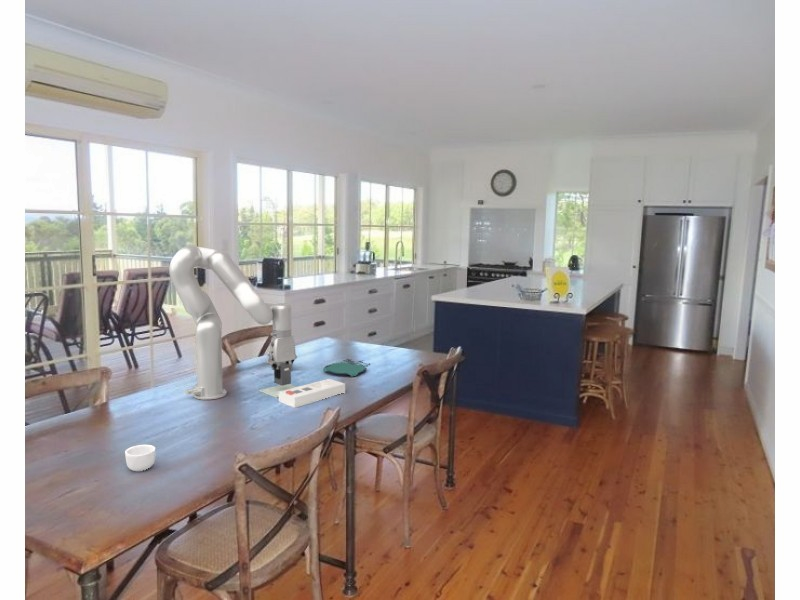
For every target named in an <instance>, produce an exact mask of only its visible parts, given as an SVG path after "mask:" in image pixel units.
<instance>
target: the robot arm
mask: <svg viewBox="0 0 800 600" xmlns="http://www.w3.org/2000/svg"><path fill="white" fill-rule="evenodd" d="M168 268H169V269H168V270H169V271H168V272H169V277H170V280H171V281H172V284H173V286H174V288H175V291H176V292H177V295H178V297H179V299H180V302H181V304H182V307H183V308H184V310H185V312H186V313H187V314H188V315H190V316H191V318H192V319H193V321H194V323H195V325H196V326H195V331H194V333H195V335H194V336H195V337H194V338H195V348H196V349H195V351H196V352H195V355H196V384H194V386H193V387H192V388H188V389H185V391H184V392H185V395H186V396H187V395H191V394H192V396H193V398H195V399H197V400H204V401H205V400H207V401H208V400H216V399H217V400H218V399H221V398H223V397H225V396H226V395H227V389H225V388H223V351H222V350H223V349H222V346H223V345H222V343H223V342H222V336H223V335H222V329H223V323H222V319H221V317H220V315H219V313H218V311H217V310H216V308H215V305H214V303H213V301H212V299H211V297H210V296H209V294H208V293H207V292H206V291H204V290H203V289H202V288H201V286H200V283H199V281H198V280H197V277H196V275H195V273H194V270H195V268H199V269H204V270H205V269H206V270H211V271H212V272H213V273H214V274H215V276H217V278H218V279H219V280H220V281H221V283H222V284H223V285H224V286H225V287H226V289H227V290H228V291H229V292H230V293H231V294H232V296H233V298H234V299H236V300H237V302H238V303H240V305H241V306H242V308H243V309H244V310H245V312H247V314H248V315H249V316H250V317H251V319H253V321H254V322H255V323H257V324H258V325H262V326H265V325H268V324H269V323H271V321H272V332H270V336H271V339H270V344H269V351H270V353H269V358H268V359H267V362H266V363H267V365H270V366H271V368H272V367H273V368H274V370H273V374H274V375H273V377H274V376H275V378H278V379H280V369H279V366H280V363H281V362H285V363H287V364H290V365H291V366H292V363H293V364H294V361H296V360H297V358H298V356H297V351H296V345H295V344H296V342H295V339H294V335H292V306H291V304H289V303H285V302H283V303H282V302H280V303H270V302H269V303H268V302H265V301H264V300H263V299H262V298H261V296H260V295H259V294H258V292H257V291H256V290H255V288H254V286H253V283H252V282H251V281H250V280H249V278H248V277H247V276H246V274H245V273H244V272H243V271H242V270H241V269H240V268H239V266H238V265H237V264H236V263H235V261H234V260H233V259H232V257H231V256H230V254H229V253H228V252H227V251H225V250H222V249H214V248H211V247H210V248H209V247H204V246H203V247H202V246H197V245H185V246H183V247H181V248H180V249H179V250H178V251H177V252H176V253H175V254H174V256H172V258H171V260H170V263H169V267H168ZM272 361H274V363H273V362H272ZM276 364H277V365H276Z"/></svg>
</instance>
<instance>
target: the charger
mask: <svg viewBox="0 0 800 600" xmlns="http://www.w3.org/2000/svg"><path fill="white" fill-rule="evenodd" d="M276 365H277V364H276ZM279 369H280V379H278V378H275V376H274V375H273V378H274V379H273V381H274V382H273V383H274V384H276V385H282V386H283V385H287V384H291V385H292V371H291V365H290V364H287V363H284V362H282V363H280V366H279Z"/></svg>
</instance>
